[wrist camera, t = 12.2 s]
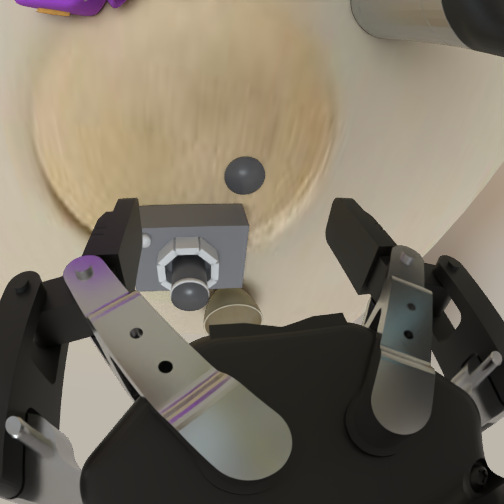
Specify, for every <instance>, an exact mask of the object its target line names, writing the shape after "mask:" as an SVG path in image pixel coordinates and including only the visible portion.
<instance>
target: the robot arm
mask: <svg viewBox="0 0 504 504" xmlns="http://www.w3.org/2000/svg"><path fill="white" fill-rule="evenodd" d="M351 7H352V12H353V15H354V17H355V19H356V21H357V22H358V24H359V25H360V26H361V27H362V28H363V29H364V30H365V31H366V32H367V33H369V34H371V35H372V36H374V37H377V38H382V39H397V40H409V41H419V42H428V43H436V44H443V45H449V46H455V47H461V48H466V49H471V50H475V51H479V52H484V53H489V54H493V55H497V56H501V57H504V0H351ZM326 240H327V243H328V245H329V246H330V248H331V250H332V251H333V253H334V254H335V256H336V258H337V259H338V261H339V263H340V264H341V266H342V268H343V270H344V271H345V273H346V275H347V276H348V278H349V280H350V281H351V283H352V285H353V287H354V288H355V290H356V292H357V294H358V295H362V294H371V297H370V299H369V301H368V304H367V308H366V311H365V315H364V319H363V322H362V325H358V324H354V323H348V322H347V321H346V319H345V317H344V315H343V313H336V314H329V315H320V316H313V317H310V318H307V319H304V320H301V321H299V322H296V323H293V324H290V325H287V326H284V327H276V326H267V325H259V324H250V323H233V324H217V325H209V336H206V337H202V338H200V339H197V340H195V341H193V342H191V343H189V344H188V343H187V342H186V341H185V340H184V339H183V338H182V337H181V336H180V335H179V334H178V333H177V332H176V331H175V330H174V329H173V328H172V327H171V326H170V325H169V324H168V323H167V321H166V320H165V319H164V318H163V317H162V316H161V315H160V314H159V313H158V312H157V311H156V310H155V309H154V308H153V307H152V306H151V305H150V304H149V302H148V301H147V300H146V299H145V298H144V297H143V296H142V295H141V294H140V293H139V292H138V291H136V290H135V285H136V279H137V273H138V267H139V262H140V256H141V251H142V245H143V235H142V226H141V219H140V210H139V202H138V199H137V198H125V199H118V201H117V203H116V206H115V208H114V210H113V212H106V213H105V214H103V215H102V216H101V217H100V218H99V219H98V221H97V223H96V225H95V227H94V229H93V231H92V234H91V236H90V238H89V240H88V243H87V245H86V247H85V250H84V252H83V255H82V256H81V257H79V258H76V259H74V260H73V261H71V262H70V263H69V264H68V265H67V266H66V268H65V270H64V273H63V276H62V277H59V278H55V279H52V280H48V281H45V282H42V280H41V278H40V276H39V274H38V273H36V272H33V271H26V272H22V273H20V274H18V275H16V276H15V277H14V278H13V279H11V281H10V282H9V283H8V285H7V286H6V289H5V291H4V293H3V295H2V298H1V300H0V498H3V499H5V500H8V501H11V502H15V503H18V504H504V478H502V477H500V476H498V475H496V474H495V473H493V472H492V471H491V470H490V469H489V467H488V466H487V463H486V460H485V457H484V452H483V444H482V434H481V433H482V431H484V430H486V429H487V428H489V427H490V426H492V425H493V424H494V423H496V422H497V421H499V420H500V419H501V418H503V417H504V321H503V320H502V318H501V317H500V315H499V314H498V312H497V311H496V309H495V308H494V306H493V305H492V304H491V302H490V301H489V299H488V298H487V297H486V295H485V294H484V293H483V291H482V290H481V288H480V287H479V286H478V284H477V283H476V282H475V280H474V279H473V278H472V277H471V275H470V274H469V273H468V272H467V270H466V269H465V268H464V267H463V265H462V264H461V263H460V262H458V261H457V260H456V259H454V258H452V257H450V256H446V255H442V256H440V257H439V259H438V261H437V263H436V265H432V264H427V263H424V260H423V258H422V257H421V256H420V254H419V253H417V252H416V251H415V250H413V249H411V248H409V247H406V246H402V245H397V244H396V243H395V242H394V241H393V240H392V238H391V237H390V236H389V235H388V234H387V233H386V231H385V230H383V228H382V227H381V226H380V225H379V224H378V222H377V221H376V220H375V219H374V218H373V217H372V216H371V215H370V214H368V213H367V212H365V211H364V210H363V209H362V208H361V207H360V206H359V205H358V204H357V202H356V201H355V200H354V199H352V198H335V199H334V201H333V204H332V207H331V211H330V215H329V219H328V223H327V227H326ZM451 299H452V300H453V301H454V303H455V304H456V306H457V307H458V309H459V311H460V313H461V322H460V324H459V326H458V327H457V328H456V330H455V329H454V327H453V325H452V324H451V322H450V320H449V319H448V317H447V315H446V314H445V312H444V309H445V308H446V306H447V305H448V303H449V302H450V300H451ZM87 337H90V338H91V340H92V341H93V342H94V344H95V346H96V347H97V349H98V351H99V352H100V353H101V355H102V357H103V358H104V360H105V361H106V363H107V364H108V366H109V367H110V368H111V370H112V371H113V373H114V374H115V376H116V377H117V379H118V380H119V382H120V383H121V385H122V386H123V388H124V389H125V391H126V392H127V394H128V395H129V396H130V397H131V399H132V400H133V401H134V404H133V405H132V406H131V407H130V408H129V410H128V411H127V412H126V413H125V415H123V417H122V418H121V419H120V420H119V421H118V423H117V424H116V425H115V426H114V427H113V429H112V430H111V431H110V432H109V433H108V435H107V436H106V437H105V438H104V440H103V441H102V442H101V443H100V444H99V446H98V447H97V448H96V449H95V450H94V451H93V453H92V454H91V455H90V456H89V457H88V459H87V460H86V462H85V464H84V466H83V468H82V470H81V469H80V468H79V466H78V465H77V463H76V461H75V459H74V453H73V448H72V445H71V443H70V441H69V439H68V438H67V437H66V436H65V435H64V434H63V433H61V431H59V423H60V409H61V408H60V407H61V397H62V387H63V379H64V370H65V364H66V363H65V362H66V357H67V351H68V345H69V342H72V341H76V340H79V339H82V338H87ZM431 350H432V352H433V354H434V355H435V357H436V359H437V361H438V363H439V365H440V367H441V369H442V372H443V374H444V376H445V377H443V376H442V375H441V374H439V373H437V372H436V371H435V370H434V368H432V367H431V364H430V363H431Z"/></svg>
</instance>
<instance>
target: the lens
mask: <svg viewBox="0 0 504 504" xmlns="http://www.w3.org/2000/svg"><path fill="white" fill-rule="evenodd" d="M171 300H172V303H173V304H174V305H175V306H176V307H177V308H179V309H181V310H185V311H195V310H199V309H201V308H203V307H204V306H205V305H206V304H207V303H208V300H209V289H208V286H207V276H206V267H205V260H204V259H203V258H201V257H200V256H199V255H177V256H176V257H175V258H174V259H173V260H172V287H171Z"/></svg>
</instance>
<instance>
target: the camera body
mask: <svg viewBox="0 0 504 504" xmlns="http://www.w3.org/2000/svg"><path fill="white" fill-rule="evenodd" d="M139 210H140V219H141V226H142V235H143V245H142V251H141V256H140V262H139V267H138V273H137V279H136V285H135V286H136V291H171V287H172V260H173V259H174V258H175V257H176V256H177V255H199V256H200V257H201V258H203V259H204V260H205V267H206V276H207V286H208V289H223V288H242V284H243V275H244V267H245V258H246V249H247V240H248V232H249V224H248V221H247V218H246V215H245V212H244V209H243V206H242V204H185V205H152V206H139Z"/></svg>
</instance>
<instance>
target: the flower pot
mask: <svg viewBox="0 0 504 504" xmlns="http://www.w3.org/2000/svg"><path fill="white" fill-rule="evenodd" d="M233 323H250V324H259V325H262V323H263V316H262V313H261V311H260V309H259V307H258V306H257V304H256V303H255V301H254V300H253V299H252V298H251V297H250V295H249V294H247V293H246V292H245V291H244V290H243V289H241V288H223V289H217V290H216V291H215V293H214V294H213V295H212V297H211V299H210V301H209V303H208V305H207V308H206V311H205V316H204V330H205V332H206V333H207V334H208V335H209V325H217V324H233Z"/></svg>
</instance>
